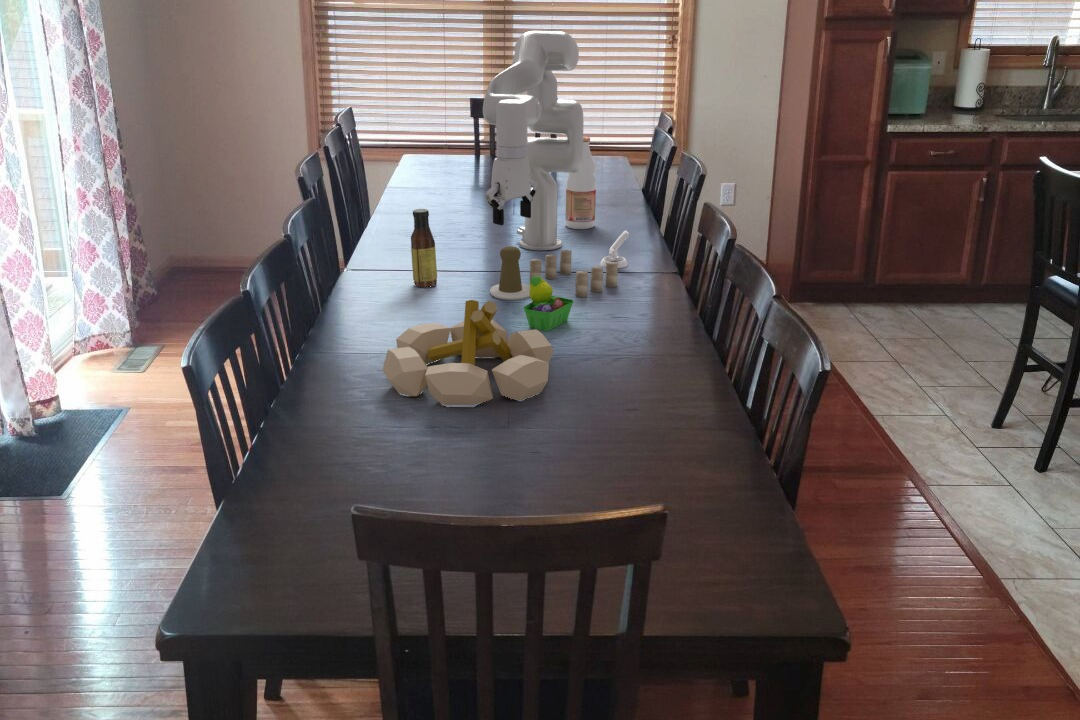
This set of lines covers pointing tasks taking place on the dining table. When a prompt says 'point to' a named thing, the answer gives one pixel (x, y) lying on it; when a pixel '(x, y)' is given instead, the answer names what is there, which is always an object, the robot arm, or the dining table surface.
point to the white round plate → (510, 296)
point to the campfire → (469, 359)
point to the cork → (510, 270)
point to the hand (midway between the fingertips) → (512, 220)
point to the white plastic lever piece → (614, 253)
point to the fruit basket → (545, 306)
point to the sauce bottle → (423, 251)
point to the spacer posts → (580, 275)
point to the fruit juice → (581, 192)
